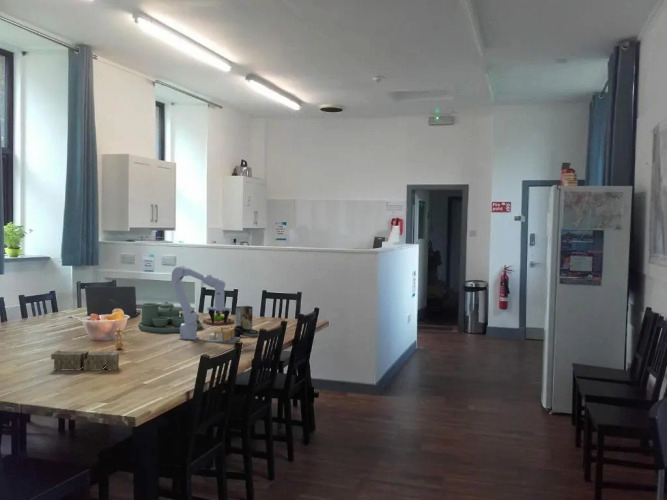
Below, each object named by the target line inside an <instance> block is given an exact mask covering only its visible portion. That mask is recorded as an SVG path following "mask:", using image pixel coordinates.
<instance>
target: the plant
mask: <svg viewBox="0 0 667 500" xmlns="http://www.w3.org/2000/svg"><path fill="white" fill-rule="evenodd" d="M216 312H217V313H214V323H212V320H211V317H209V318H203V319H202V323H203V324H205V325H209V326H213V327H214V326H216V327H217V326H224V325H225V326H226V325H230V324H231V325H233V324H235V320H234V319H231V318H229V317H228V318H227V322H226V323H224V312H225V311H216ZM229 319H230V322H229Z"/></svg>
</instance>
